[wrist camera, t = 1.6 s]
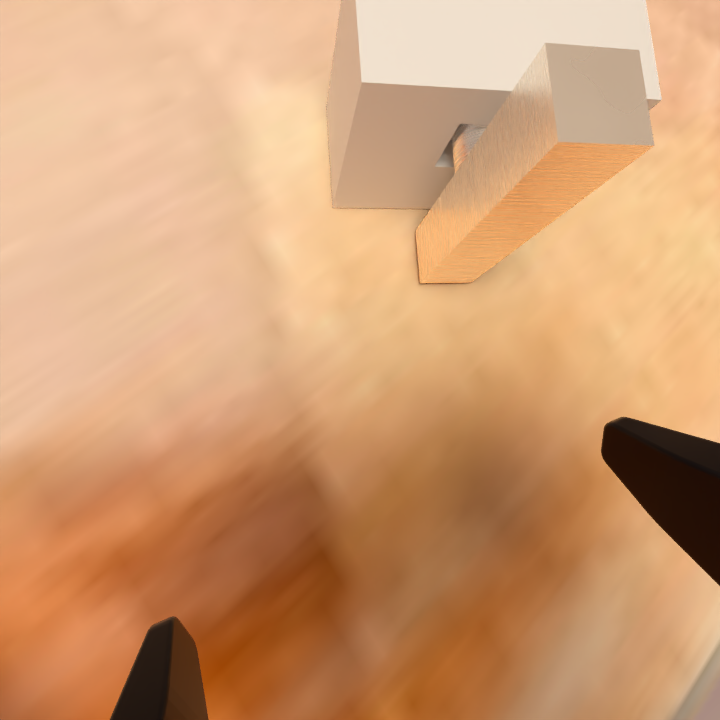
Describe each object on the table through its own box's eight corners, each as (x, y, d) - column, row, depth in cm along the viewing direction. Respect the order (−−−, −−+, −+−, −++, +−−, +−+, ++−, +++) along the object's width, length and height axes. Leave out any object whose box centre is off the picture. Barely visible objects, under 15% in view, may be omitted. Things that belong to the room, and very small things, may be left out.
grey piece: (471, 282, 26) (654, 145, 13) (420, 283, 25) (558, 141, 13) (447, 39, 28) (586, -285, 15) (398, 36, 27) (500, -303, 15)
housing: (532, 210, 28) (661, 99, 18) (332, 207, 26) (361, 82, 16) (521, 117, 28) (639, -35, 19) (326, 107, 26) (350, -68, 17)
